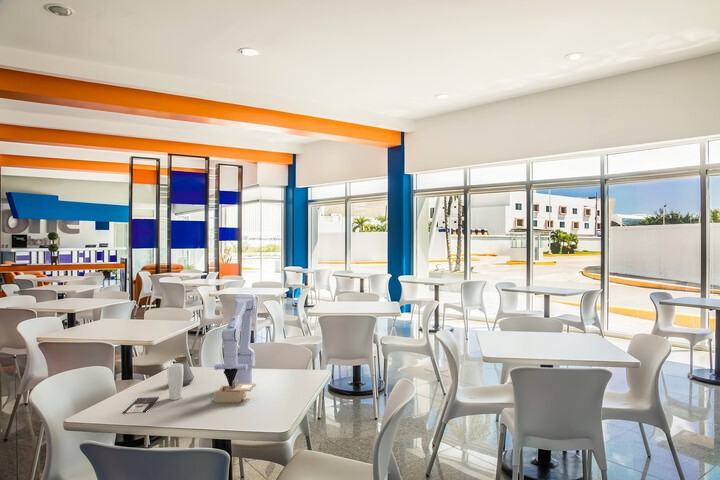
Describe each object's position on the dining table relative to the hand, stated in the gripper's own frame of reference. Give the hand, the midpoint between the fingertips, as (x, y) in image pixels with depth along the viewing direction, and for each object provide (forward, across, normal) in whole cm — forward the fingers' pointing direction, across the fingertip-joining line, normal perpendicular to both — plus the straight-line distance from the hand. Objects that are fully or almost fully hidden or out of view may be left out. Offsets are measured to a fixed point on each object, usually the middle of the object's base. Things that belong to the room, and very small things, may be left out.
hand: (231, 385), depth 209 cm
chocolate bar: (+7, -36, -8) cm, 38 cm away
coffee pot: (+6, -32, +18) cm, 37 cm away
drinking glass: (+6, -26, +1) cm, 26 cm away
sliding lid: (+1, +4, 0) cm, 5 cm away
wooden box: (+6, 0, 0) cm, 6 cm away
